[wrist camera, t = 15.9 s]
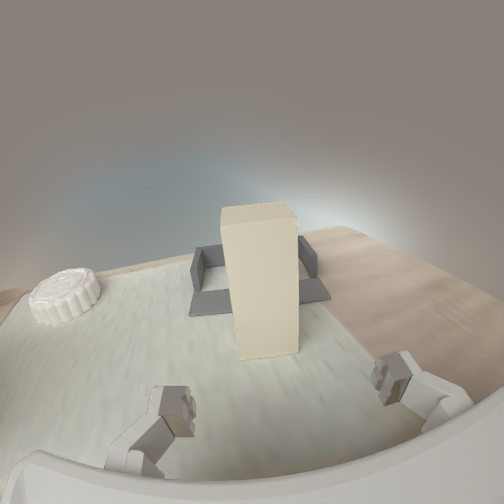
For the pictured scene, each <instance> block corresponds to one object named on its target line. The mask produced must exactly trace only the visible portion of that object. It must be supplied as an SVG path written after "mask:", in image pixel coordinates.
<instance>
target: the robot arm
mask: <svg viewBox="0 0 504 504" xmlns="http://www.w3.org/2000/svg"><path fill="white" fill-rule="evenodd" d="M375 365H376V367H375V369H374V370H373V372H372V383H373V386H374V388H375V389H376V390H378V391H380V393H379V398H380V400H381V402H382V404H383V406H387V405H390V404H393V403H396V402H399V401H400V403H402V404H403V405H404V406H406V407H407V408H409V409H410V410H412V411H413V412H415V413H416V414H418V415H419V416H421V417H422V418H424V419H425V420H427V421H426V423H425V424H424V426H423V427H422V429H421V432H422V435H419V436H417V437H415V438H413V439H411V440H408V441H406V442H404V443H401V444H399V445H396V446H394V447H391V448H389V449H386V450H383V451H380V452H378V453H375V454H372V455H369V456H366V457H363V458H359V459H356V460H353V461H349V462H346V463H342V464H338V465H335V466H331V467H326V468H322V469H318V470H313V471H308V472H303V473H297V474H291V475H285V476H278V477H270V478H261V479H250V480H233V481H188V480H172V479H164V474H163V473H162V472H161V471H160V470H159V469H158V468H157V467H156V466H155V464H156V463H157V461H158V460H159V459H160V458H161V456H162V455H163V454H164V452H165V451H166V450H167V449H168V447H169V446H170V445H171V443H172V442H173V441H174V440H175V437H194V432H195V424H194V422H193V419H194V418H195V417H196V406H195V401H194V398H193V397H192V396H191V395H190V392H191V391H190V388H189V386H154V387H153V388H152V391H151V395H150V400H149V404H148V408H147V413H146V415H142V416H141V417H140V418H139V419H138V420H137V421H136V422H135V423H134V424H133V425H132V426H131V427H130V428H128V429H127V430H126V431H125V432H124V433H123V434H122V435H121V436H120V437H119V438H118V439H116V440H115V441H114V442H113V443H112V444H111V445H110V447H109V451H108V455H107V459H106V463H105V467H104V469H101V468H97V467H93V466H89V465H86V464H82V463H78V462H75V461H72V460H69V459H65V458H62V457H59V456H57V455H54V454H51V453H49V452H46V451H43V450H37V451H35V452H33V453H31V454H29V455H28V456H26V457H25V458H23V459H22V460H20V461H19V462H17V463H16V465H15V466H14V468H13V469H12V471H11V473H10V475H9V478H8V481H7V483H6V486H5V489H4V492H3V496H2V499H1V503H0V504H504V385H503V386H502V387H501V388H499V389H498V390H496V391H495V392H494V393H492V394H491V395H489V396H488V397H487V398H485V399H484V400H482V401H481V402H479V403H478V404H476V405H475V404H474V403H473V401H472V400H471V399H470V397H469V396H468V394H467V393H466V392H465V390H464V389H463V388H462V387H460V386H458V385H456V384H453V383H451V382H449V381H447V380H444V379H442V378H440V377H438V376H436V375H433V374H431V373H429V372H427V371H424V372H423V371H422V369H421V368H420V366H419V365H418V364H417V362H416V361H415V359H414V358H413V357H412V355H411V354H410V353H409V351H408V350H406V349H405V350H402V351H399V352H395V353H392V354H388V355H385V356H382V357H378V358H377V359H376V361H375Z"/></svg>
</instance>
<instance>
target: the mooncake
mask: <svg viewBox="0 0 504 504" xmlns="http://www.w3.org/2000/svg"><path fill="white" fill-rule="evenodd" d="M100 291H101V289H100V286H99V283H98V280H97V277H96V274H95V273H94V272H93V271H92V270H91V269H87V268H76V269H66V270H64V271H61V272H58V273H56V274H54V275H53V276H51V277H49V278H47V279H45V280H43V281H41V282H40V284H39V285H37V286H35V287H34V290H33V291H32V292H31V293H30V296H29V297H28V305H29V307H30V310H31V312H32V314H33V316H34V318H35V320H36V321H38V323H39V324H45V325H46V326H50V325H52V324H53V325H59V324H61V323H62V322H64V323H66V322H69V321H71V320H72V319H73V318H77V317H79V316H81V315H82V314H83V313H84V312H86V311H88V310H89V309H91V307H92V305H94V304H95V303H96V302H97V301H98V299H97V298H99V297H100V295H101V293H100Z"/></svg>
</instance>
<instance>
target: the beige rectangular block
mask: <svg viewBox="0 0 504 504" xmlns="http://www.w3.org/2000/svg"><path fill="white" fill-rule="evenodd" d="M220 230H221V237H222V244H223V252H224V259H225V265H226V272H227V279H228V286H229V292H230V299H231V305H232V311H233V318H234V324H235V330H236V336H237V342H238V348H239V354H240V360H241V361H245V360H255V359H263V358H271V357H278V356H285V355H292V354H298V349H299V270H298V233H297V217H296V216H295V215H294V214H293V212H292V211H291V210H290V209H289V208H288V206H287V205H286V204H285V203H284V202H283V201H281V202H269V203H260V204H250V205H240V206H232V207H223V208H222V213H221V222H220Z"/></svg>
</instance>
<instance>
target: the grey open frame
mask: <svg viewBox="0 0 504 504" xmlns="http://www.w3.org/2000/svg"><path fill="white" fill-rule="evenodd" d="M298 257H300V259H301V261H302V263H303V264H304V266H305V268H306V270H307V272H308V273H309V275H310V277H311V278H312V277H317V254H316V253H315V252H314V250H313V249H312V248H311V246H310V245H309V243H308V242H307V241H306V239H305V238H304V237H303V236H298ZM217 266H226V265H225V259H224V252H223V244H222V245H214V246H205V247H197V248H196V251H195V255H194V258H193V262H192V265H191V269H190V272H191V277H192V281H193V286H194V291H201V287H202V281H203V275H204V270H205V268H208V267H217ZM329 299H330V295H329V294H328V292H327V290H326V289H325V287H324V285H323V284H322V282H321V281H320V279H319V278H313V279H306V280H299V304H303V303H309V302H316V301H322V300H329ZM231 312H233V311H232V305H231V299H230V292H229V289H224V290H214V291H204V292H194V293H193V297H192V302H191V307H190V312H189V316H200V315H211V314H222V313H231Z"/></svg>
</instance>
